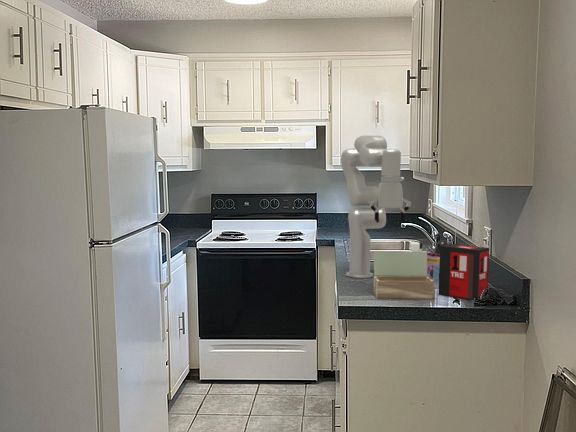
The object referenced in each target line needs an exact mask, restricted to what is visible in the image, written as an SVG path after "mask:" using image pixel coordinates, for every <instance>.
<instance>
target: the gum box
mask: <svg viewBox="0 0 576 432" xmlns="http://www.w3.org/2000/svg"><path fill="white" fill-rule="evenodd" d="M439 264H440V254H433V253H431V252H427V276H428V277H429V278H430V279H432V280H433V281H434V289H436V290H439Z"/></svg>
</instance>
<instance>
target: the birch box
mask: <svg viewBox="0 0 576 432" xmlns="http://www.w3.org/2000/svg"><path fill="white" fill-rule="evenodd" d="M434 289H435V288H434V281H433V280H432V279H430V278H429V277H428V276H395V275H373V289H372V291H373V295H374V297H376V299H377V300H378V299H379V300H380V299H381V300H385V299H386V300H390V299H391V300H414V299H415V300H433V299H434V295H435V294H434V292H435V291H434Z"/></svg>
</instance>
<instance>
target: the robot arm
mask: <svg viewBox="0 0 576 432" xmlns="http://www.w3.org/2000/svg"><path fill="white" fill-rule="evenodd" d="M353 146H354V148H353V147H352V148H348V149H347V148H346V149H344V150H343V151H342V153H341V154H340V165H341V168H342V172H343V174H344V176H345V180H346V186H347V193H348V201H349V203H350V205H351V206H352V207H357V208H353V209H351V210H350V211H349V213H348V214H347V215H348V216H347V218H348V219H347V220H348V226H349V266H348V267H349V269H348V270H349V271H346V273H345V276H347V277H348V278H354V279H368V278H373V277H374V272H371V236H370V234H369V233H368V232H367V231H366V230H369V229H373V230H374V229H382V228H384V227H385V226H386V224H387V214H386V209H398V210H400V212H399V223H401V224H403V222H404V221H405V214H406V212H407V211H408V210H409V209H410V207H411V205H412V202H411V201H410V200H408V199H407V198H404V195H403V185H402V183H401V182H403V181H404V180H405V178H404V177H403V176H401V164H402V163H401V161H402V160H401V159H402V157H401V156H402V151H401V150H400V149H394V148H393V149H392V148H388V143H387V140H386V138H385V137H384V136H381V135H361V136H358V137H357V138H355V140H354V144H353ZM359 167H360V168H361V167H363V168H365V167H366V168H367V167H368V168H374V167H375V168H378V167H379V168H381V171H380V172H381V176H380V177H381V178H380V183H378V185H377V186H374V185H373V186H370V185H369V186H368V185H366V180H365V175H363V173H362V172H361V170H359ZM404 203H405V204H406V206H404V207H403V204H404Z"/></svg>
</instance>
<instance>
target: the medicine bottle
mask: <svg viewBox="0 0 576 432" xmlns="http://www.w3.org/2000/svg"><path fill="white" fill-rule="evenodd" d="M409 245H410V246H409V249H410V250H409V251H406V252H426V251H425V250H423V242H422V241H411V242H410V244H409Z"/></svg>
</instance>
